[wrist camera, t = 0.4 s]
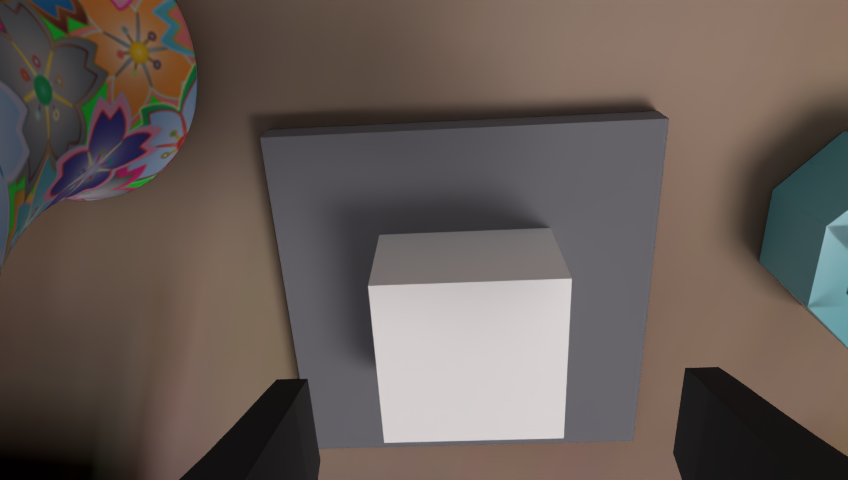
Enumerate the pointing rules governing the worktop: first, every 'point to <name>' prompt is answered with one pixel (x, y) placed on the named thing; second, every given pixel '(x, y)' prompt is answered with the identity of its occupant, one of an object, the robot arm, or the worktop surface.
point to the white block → (471, 335)
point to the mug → (88, 101)
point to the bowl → (813, 236)
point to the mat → (468, 211)
